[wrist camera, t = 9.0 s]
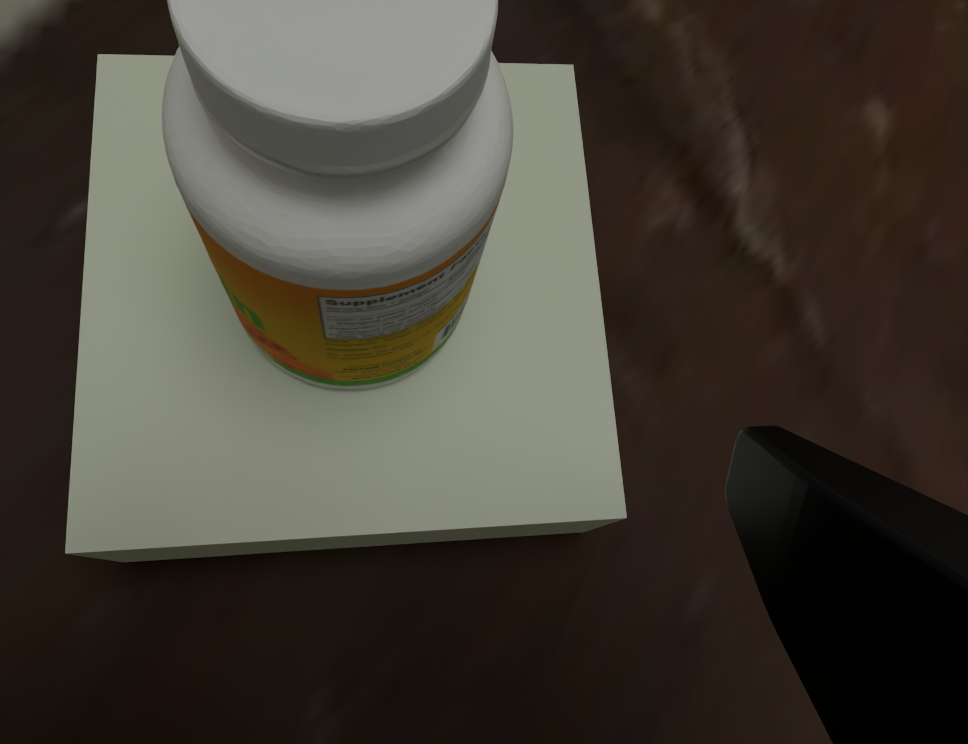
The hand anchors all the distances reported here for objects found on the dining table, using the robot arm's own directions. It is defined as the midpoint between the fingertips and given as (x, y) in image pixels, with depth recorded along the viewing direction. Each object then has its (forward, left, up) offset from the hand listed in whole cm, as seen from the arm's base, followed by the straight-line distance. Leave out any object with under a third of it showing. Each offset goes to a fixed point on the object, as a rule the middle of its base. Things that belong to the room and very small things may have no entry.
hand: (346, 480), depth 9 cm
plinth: (+4, +5, -13) cm, 14 cm away
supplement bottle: (+4, +5, -9) cm, 11 cm away
